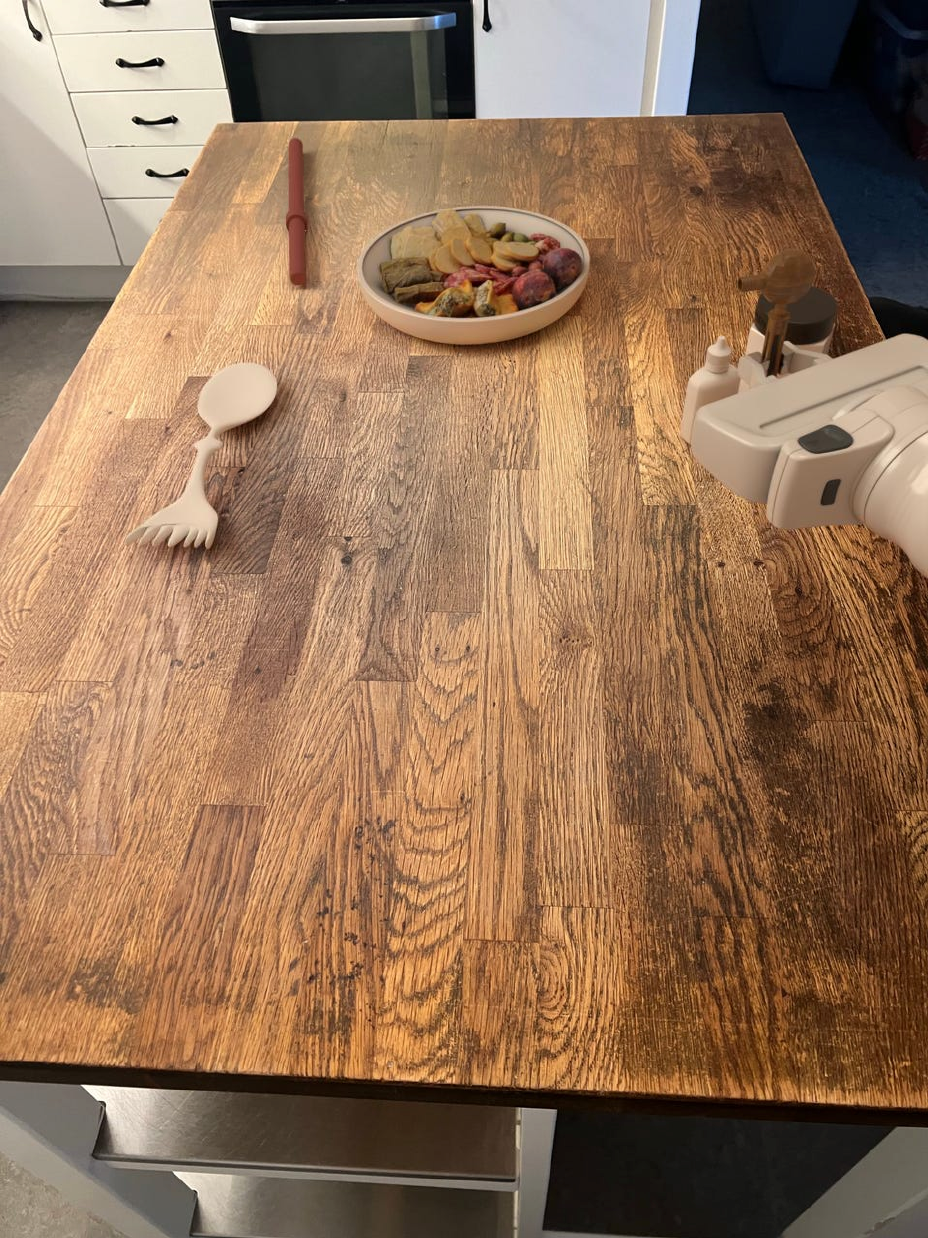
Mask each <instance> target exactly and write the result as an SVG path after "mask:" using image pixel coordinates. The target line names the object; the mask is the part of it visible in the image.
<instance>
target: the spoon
mask: <svg viewBox="0 0 928 1238" xmlns="http://www.w3.org/2000/svg"><path fill="white" fill-rule="evenodd" d="M277 391H278V382H277V378H276V376H275V373H273V371H272V370H271V369H270V368H269V367H266V366H265V365H262V364H259V363H255V362H236V363H233V364H230V365H227V366H225V367H223V368H221V369H220V370H218V371H217V372H216V373H214V374H213V375H212V376H211V377H210V378H209V379H208V380H207V381H206V383H205V384H204V385H203V386H202V389H201V391H200V393H199V396H198V401H197V412H198V415H199V416H200V417H201V419H202V420H203V421H204V422H205V424H207V425H208V426H209V427H210V431H209V432H208V434H207V436H206V437H204V438H201V439H199V440H197V441H196V442H195V443H194V449H195V450H196V451H198V453H197V456H196V459H195V461H194V465H193V467H192V471H191V474H190V476H189V480H188V483H187V486H186V488H185V490H184V492H183V494H182V495H181V496H180V497H179V498H178V499H177V500H175V501H174V502H173V503H171V504H169V505H168V506H165V507H164V508H162V509H160V510H158V511H157V512H155V513H154V514H152V515H151V516H150V517H149V518H148V519H146V520H145V521H144V522H143V523H142V524H141V525H139V526H138V527H136V528H135V529H133V530H131V531H130V532H129V533H128V534H126V536H125V540H124V544H125V546H126V547H130V546H131V545H133V544H134V543H135V542H136V541H137V540H139V539H140V538H141V539H140V540H139V545H140V546H141V547H142V546H144V545H146V544H147V543H149V542H150V541H151V540H153V541H152V544H151V545H152V547H153V548H154V547H157V546H158V545H160V544H161V543H162V542H163V541H165V540H166V539H167V538H169V539H168V541H167V542H168V543H167V546H168V547H169V548H172V547H174V546H176V545H177V544H179V543H180V542H181V541H183V539H185V540H184V541H183V548H184V549H185V548H187V547H189V546H190V545H191V544H192V543H193V542H194V543H193V544H194V548H195V549H196V548H198V547H199V546H200V545H201V544H203V542H204V540H205V543H204V545H205V546H204V547H205V548H206V550H209V549H210V548H211V547H212V545H213V543H214V540H215V537H216V533H217V527H218V523H219V522H218V521H219V516H218V513H217V512H216V510H215V509H214V508H213V506H212V505H211V504H210V502H209V500H208V499H207V496H206V491H205V476H206V475H205V474H206V469H207V466H208V463H209V461H210V459H211V457H212V456H213V455H214V454H215V453H216V452H218V451H221V450H222V449H223V446H224V443H223V442H222V440H219V439H218V438H219V437H220V436H221V435H222V434H223V433H224V432H226V431H229V430H232V429H233V428H236V427H239V426H241V425H244V424H246V423H248V422H250V421H252V420H254V419H256V418H258V417H259V416H261V415H262V414H264V413H265V411H267V409H268V408H269V407H270V406H271V404H272V403H273V401H274V399H275V397H276V395H277Z"/></svg>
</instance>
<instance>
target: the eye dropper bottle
mask: <svg viewBox="0 0 928 1238" xmlns="http://www.w3.org/2000/svg"><path fill="white" fill-rule="evenodd" d="M726 341H727V340H726V336H724V335H719V336H718V337H717V340H716V342H715V343H712V344H711V345H709V346H708V347H707V350H706V355H705V357H706V358H705V363H704V366H701V367H700V368H699V369H697V370H696V371H695V372H694V373H692V375H691V376H690V377H689V378H688V382H687V386H686V392H685V398H684V405H683V409H682V410H683V411H682V418H681V424H680V431H679V436H680V437H681V439H682V440H684V441H685V442H686V443H687V445H690V446H691V437H692V430H693V424H694V420H695V416H696V413H697V411H698V409H699V408H700V407H702V406H705V405H707V404H710V403H713V402H716V401H719V400H722V399H724V398H727V397H730V396H733V395H735V394H738V392H739V386H740V380H741V378H740V377H739V375H738V373H737V368H738V367H736V366H734V365H733V364H732V363H731V359H732V355H733V353H732V351H733V350H732V348H731V347H730V346H729V345H727V343H726Z"/></svg>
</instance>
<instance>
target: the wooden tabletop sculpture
mask: <svg viewBox="0 0 928 1238" xmlns="http://www.w3.org/2000/svg"><path fill="white" fill-rule="evenodd" d="M814 261H815V260H814V259H813V257H812V256H811V255H810V254H808V252H806V251H804V250H802V249H801V248H788V249H784V250H782V251H779V252H777V253H776V254H774V255H772V256H771V257H770V258H769V260H768V261H767V263H766V264H765V265H764V266H763V268H762V269H761V272H760V273H758V274H750V275H744V276H738V278H737V281H736V282H737V283H736V286H737V291H738V292H739V293H747V292H754V291H760V292H761V294H763V296H764V297H765V298H766V299H767V300H768V301H769V302H771V303H775V304H776V306H775V309H772V310H771V311H769V312H768V317H769V320H768V325H767V330H766V335H765V340H764V345H763V350H762V356H765V357H766V358H768V359H769V360H770V364H769V368H768V370H767V377H768V376H771V375H774V376H775V377H776V378H777V373H778V367H779V362H780V358H781V353H782V348H783V344H784V339H785V334H786V330H787V325H788V320H789V319H790V317H791V315H790V312H788V311H787V310H786V308H787V304H789V303H793V302H796V301H797V300H799V299H800V298H801V297H802V296H804V295H805V294H806V293H807V292H808V291H809V290H810V288H811V286H813V284H814V283H815V276H816V268H817V267H816V263H815V262H814Z"/></svg>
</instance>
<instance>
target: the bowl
mask: <svg viewBox="0 0 928 1238" xmlns="http://www.w3.org/2000/svg"><path fill="white" fill-rule="evenodd" d="M590 256H591V255H590V252H589V248H588V246H587V244H586V242H585V241H584V239H583V238H582V237H581V236H580V234H578V233H577V232H576V231H575V230H573V229H572V228H571V227H569V226H568V225H566V224H565V223H563V222H562V221H559V220H557V219H555V218H552V217H550V216H547V215H545V214H543V213H538V212H535V211H532V210H526V209H522V208H516V207H507V206H496V205H468V206H457V207H448V208H443V209H437V210H433V211H429V212H424V213H421V214H417V215H415V216H411V217H409V218H405V219H404V220H401V221H399V222H397V223H395V224H393V225H391V226H389V227H387V228H386V229H383V230H382V231H381V232H379V233H378V234H377V235H376V236H374V237H373V238H372V239H371V240H370V241H369V242H368V243H367V244H366V245H365V247H364V248H363V249H362V251H361V253H360V254H359V257H358V260H357V262H356V263H357V264H356V273H357V274H356V275H357V280H358V286H359V288H360V292H361V294H362V296H363V298H364V300H365V302H366V303H367V305H368V306H369V308H370V309H371V310H372V311H373V312H374V313H375V314H376V315H377V316H378V317H379V318H380V319H381V320H382V321H383V322H385V323H386V324H388V325H389V326H390V327H392V328H394V329H396V330H397V331H400V332H402V333H404V334H407V335H409V336H413V337H415V338H419V339H422V340H425V341H429V342H434V343H441V344H446V345H447V344H448V345H465V346H466V345H485V344H495V343H500V342H506V341H510V340H514V339H518V338H521V337H525V336H527V335H530V334H533V333H535V332H538V331H539V330H542V329H544V328H546V327H548V326H550V325H551V324H553V323H554V322H556V321H557V320H559V319H560V318H562V317H563V316H564V315H565V314H566V313H567V312H569V311H570V309H571V308H572V307H573V306H574V305H575V304H576V303H577V302H578V300H579V298H580V297H581V296H582V294H583V292H584V290H585V288H586V285H587V283H588V279H589V274H590V273H589V272H590V267H591V265H590V264H591V257H590Z"/></svg>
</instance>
